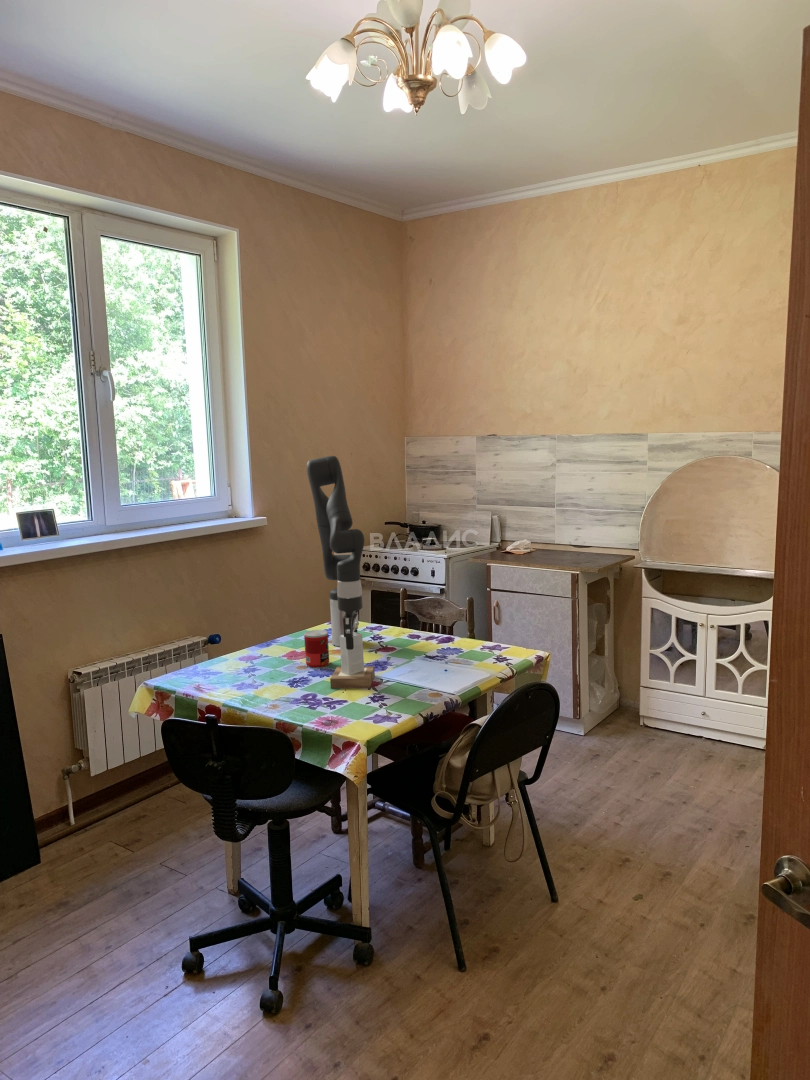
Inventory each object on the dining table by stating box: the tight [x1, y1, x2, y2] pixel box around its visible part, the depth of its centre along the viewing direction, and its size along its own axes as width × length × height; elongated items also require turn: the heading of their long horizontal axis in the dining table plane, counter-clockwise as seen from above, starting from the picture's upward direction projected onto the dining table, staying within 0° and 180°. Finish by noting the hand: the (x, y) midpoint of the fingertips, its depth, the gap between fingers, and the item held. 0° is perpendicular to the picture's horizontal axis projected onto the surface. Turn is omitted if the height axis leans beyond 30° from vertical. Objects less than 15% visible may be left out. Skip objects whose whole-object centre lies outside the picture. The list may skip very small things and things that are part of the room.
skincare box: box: [339, 631, 365, 675], centre depth 231 cm, size 6×4×12 cm
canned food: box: [303, 629, 330, 669], centre depth 250 cm, size 8×8×11 cm
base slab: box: [329, 665, 376, 689], centre depth 232 cm, size 12×12×3 cm
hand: (352, 645), depth 231 cm, fingers open, 8 cm apart
